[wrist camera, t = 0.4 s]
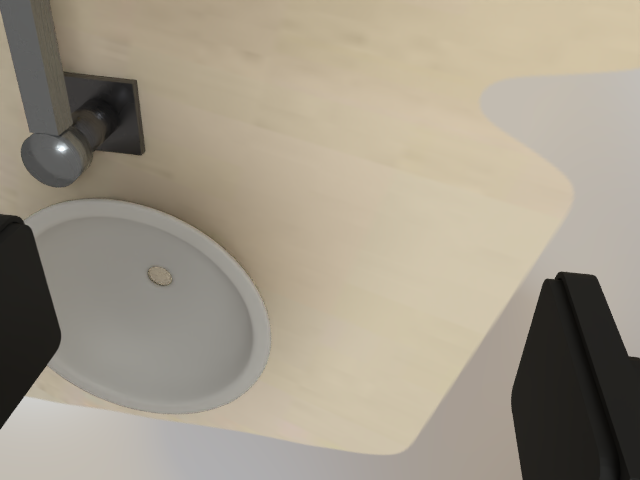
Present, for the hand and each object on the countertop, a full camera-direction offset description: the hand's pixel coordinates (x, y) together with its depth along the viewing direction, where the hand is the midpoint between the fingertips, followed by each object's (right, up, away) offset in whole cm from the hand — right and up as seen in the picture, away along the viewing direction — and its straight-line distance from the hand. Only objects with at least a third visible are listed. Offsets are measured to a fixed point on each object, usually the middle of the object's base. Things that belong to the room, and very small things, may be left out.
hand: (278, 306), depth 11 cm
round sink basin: (-14, -2, +46) cm, 48 cm away
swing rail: (-17, +14, +28) cm, 35 cm away
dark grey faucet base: (-16, +11, +37) cm, 42 cm away
